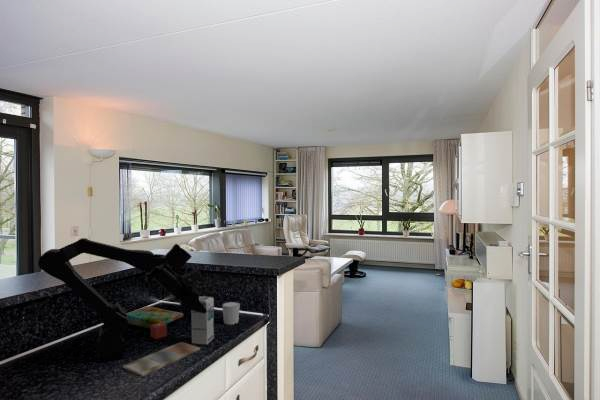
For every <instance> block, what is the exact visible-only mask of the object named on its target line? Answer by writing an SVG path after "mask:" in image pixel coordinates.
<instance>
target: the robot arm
mask: <svg viewBox="0 0 600 400" xmlns="http://www.w3.org/2000/svg"><path fill="white" fill-rule="evenodd" d="M82 254H86V255H90V256H91V255H92V256H96V257H101V258H103V259H109V260H112V261H113V260H114V261H117V262H121V263H125V264H127V265H129V266H131V267H132V268H136V269H138V270H139V271H143V272H146V273H145V276H146V278H145V281H146V283H147V284H149V283H151V281H152V280H154V281H156V283H158V285H160V286H161V287H162V288H163V289H165V291H166V292H167V293H170V294H171V295H172V296H173V297H174V298H175V299H176V300H177V301H178V300H179V305H180V307H181V308H182V309H183V310H184V311H191V310H192V311H196V312H201V313H206V312H207V310H206V309H205V307H204V306H203V305H202V303H201V302H200V301H199V297H201V294H200V293H199V292H198V291H197V290H196V289H195V288H194V287H193V285H192V284H194V283H196V282H198V281H201V280H202V279H204V278H203V275H202V273H201V271H200V269H199V268H197V267H194V268H192V267H191V266H188V267H186V268H185V273H184V274H183V275H181V274H179V273H176V272H175V270H178V269H179V270H181V269H182V268H183V267H184V266H185V265H186V264H187V263H188V261H189V260H191V258H192V257H193V256H192V255H191V254H190V253H189V252H188V251H186V250H185V249H184V248H182V247H181V246H180V245H179V244H177V243H175V244H173V246H172V247H171V249H170V250H168V252H166V254H158V253H157V254H156V253H153V252H152V251H151V250H143V249H126V248H123V247H120V246H119V247H118V246H115V245H111V244H106V243H102V242H98V241H94V240H92V239H91V240H89V238H85V237H84V238H83V237H81V238H80V239H78V240H77V241H75V242H72V243H70V244H66V245H65V246H63V247H61V248H51V249H47V250H46V251H45V252H44V253H43V254H41V255H40V257H39V259H38V267H39V268H40V270H42V271H43V272H45V273H46V274H48V275H49V276H51V277H53V278H55V279H57V280H60V281H61V282H63V283H64V284H65V285H66V286H67V287H68V288H70V289H71V291H73V292H74V294H76V295H77V296H78V297H79V298H80V299H81V300H82V301H83V302H84V303H85V304H86V305H88V306H89V307H90V308H91V309H92V310H93V311H94V312H95V313H96V314H97V315H98V316H99V319H100V320H101V322H102V325H101V326H100V327H99V334H98V335H99V336H98V358H97V359H98V360H97V362H98V363H104V362H110V361H116V360H121V359H123V355H124V354H125V339H124V338H125V337H123V333H124V332H125V331H126V330H127V329H128V327H129V324H128V316H127V313H128V312H127V309H126V308H124V307H122V306H121V304H120V302H118V301H116V302H115V304H113V303H111V302H109V301H107V300H106V298H104V297H103V296H102V295H101V294H100V293H99V292H98V291H97V290H96V289H95V288H94V286H92V285H91V284H90V283H89V282H88V281H87V280H85V278H83V277H82V275H80V274H79V273H78V272H77V271H76V270H75V269H74V267H73V265H72V263H71V261H70V260H72V259H75V258H77V257H78V256H79V255H82ZM168 265H169V266H170V267H171V268H170V267H169V266H168Z"/></svg>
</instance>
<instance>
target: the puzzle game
mask: <svg viewBox="0 0 600 400" xmlns="http://www.w3.org/2000/svg"><path fill="white" fill-rule="evenodd" d="M127 316H128V325H133V326H137V327H142V328H145V329H150V330H151V325H152V324H156V323H160V322H162V323H164V324H166V325H167V326H168V325H169V324H171V323H174V322H175V320H176V321H177V319H180V318H182V317H184V313H183V312H178V311H173V310H169V309H163V308H159V307H154V306H148V305H147V306H144V307H141V308H138V309H135V310H132V311H129V312H127Z"/></svg>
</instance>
